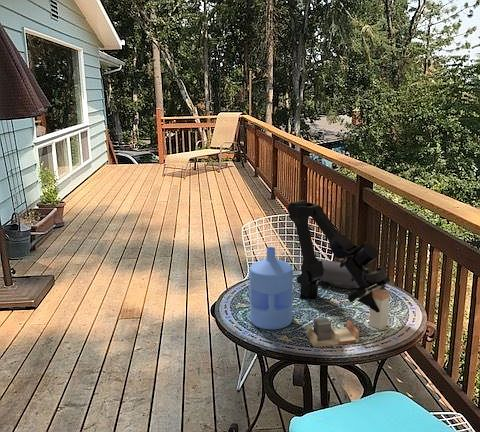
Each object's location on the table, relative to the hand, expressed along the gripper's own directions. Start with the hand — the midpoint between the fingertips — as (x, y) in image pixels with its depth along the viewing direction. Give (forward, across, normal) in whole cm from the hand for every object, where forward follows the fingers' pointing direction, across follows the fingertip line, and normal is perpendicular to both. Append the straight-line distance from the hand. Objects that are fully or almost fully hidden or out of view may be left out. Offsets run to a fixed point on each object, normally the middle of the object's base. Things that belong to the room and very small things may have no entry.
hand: (382, 309), depth 172 cm
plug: (+4, 0, +6) cm, 7 cm away
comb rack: (0, -19, +9) cm, 21 cm away
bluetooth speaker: (-18, +18, +27) cm, 37 cm away
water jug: (-17, -25, +26) cm, 40 cm away
